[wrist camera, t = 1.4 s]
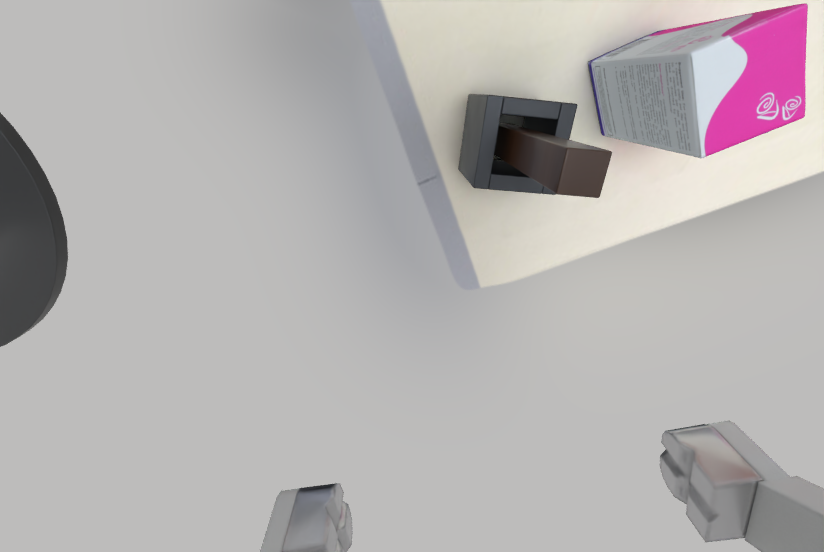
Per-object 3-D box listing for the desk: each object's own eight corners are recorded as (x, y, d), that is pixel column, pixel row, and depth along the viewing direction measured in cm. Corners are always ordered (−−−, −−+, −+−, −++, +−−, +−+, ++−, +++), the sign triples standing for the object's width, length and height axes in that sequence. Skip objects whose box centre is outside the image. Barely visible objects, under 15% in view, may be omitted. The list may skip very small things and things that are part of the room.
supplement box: (601, 139, 33) (698, 161, 22) (585, 61, 30) (686, 45, 20) (674, 109, 32) (810, 118, 21) (664, 27, 30) (811, -8, 19)
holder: (458, 169, 33) (473, 188, 27) (468, 94, 31) (487, 94, 24) (525, 175, 34) (556, 195, 27) (540, 101, 31) (578, 104, 25)
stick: (483, 148, 33) (556, 194, 18) (487, 121, 32) (567, 147, 17) (508, 150, 33) (599, 198, 18) (513, 124, 32) (612, 151, 17)
